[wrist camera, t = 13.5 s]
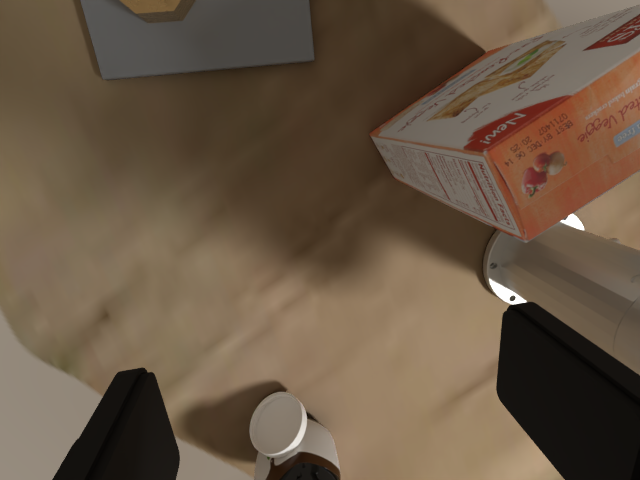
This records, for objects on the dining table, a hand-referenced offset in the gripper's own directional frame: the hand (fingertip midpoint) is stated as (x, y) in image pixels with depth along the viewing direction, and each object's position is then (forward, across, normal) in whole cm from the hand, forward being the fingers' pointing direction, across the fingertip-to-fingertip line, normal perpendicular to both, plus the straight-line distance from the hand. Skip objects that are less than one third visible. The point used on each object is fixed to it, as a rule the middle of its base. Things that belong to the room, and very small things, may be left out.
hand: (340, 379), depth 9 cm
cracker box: (+28, -16, -5) cm, 33 cm away
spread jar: (+29, +4, +31) cm, 42 cm away
